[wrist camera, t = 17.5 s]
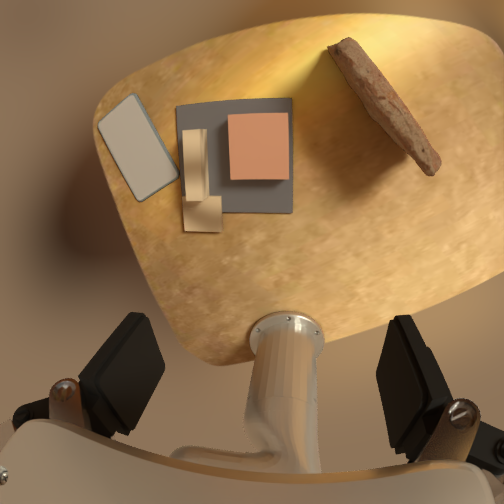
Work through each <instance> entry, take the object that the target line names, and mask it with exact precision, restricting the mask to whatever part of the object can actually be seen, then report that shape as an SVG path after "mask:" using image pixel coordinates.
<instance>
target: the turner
mask: <svg viewBox="0 0 504 504" xmlns="http://www.w3.org/2000/svg"><path fill="white" fill-rule="evenodd" d="M182 133H183V157H184V175H185V190H186V196H182V206H183V217H184V228H185V231H200V232H223V220H222V198H221V196H210V195H209V174H208V149H207V129H194V130H183V131H182Z"/></svg>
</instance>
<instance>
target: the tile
mask: <svg viewBox="0 0 504 504" xmlns="http://www.w3.org/2000/svg"><path fill="white" fill-rule="evenodd" d="M228 133H229V156H230V178H231V180H238V179H289V122H288V113H250V114H232V115H228Z"/></svg>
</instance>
